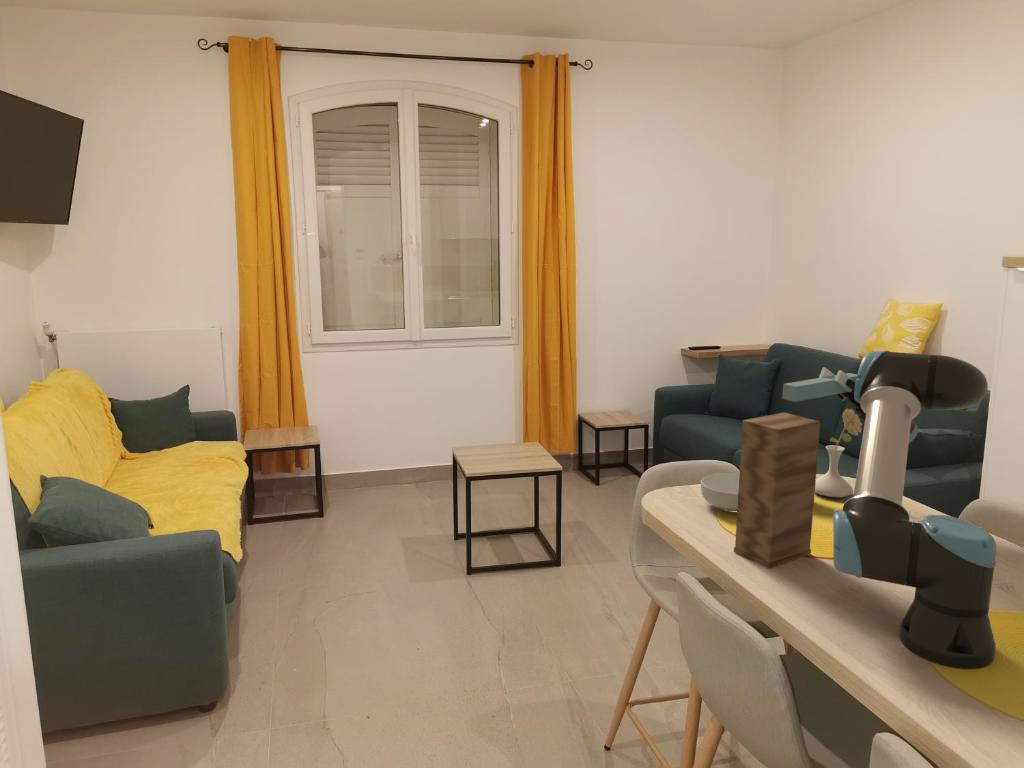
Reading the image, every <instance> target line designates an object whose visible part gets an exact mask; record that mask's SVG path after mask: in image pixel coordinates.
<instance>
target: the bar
mask: <svg viewBox="0 0 1024 768" xmlns="http://www.w3.org/2000/svg"><path fill="white" fill-rule="evenodd" d="M844 373H845V372H844ZM845 374H846V375H848V376H849V377H850V378H851V379H853V380H854V381H855V383H856V379H857V375H858V373H857V374H856V373H850V372H847V373H845ZM836 376H837V374H834V375H833V376H828V377H822V378H819V377H817V378H811V379H805V380H804V379H803V380H799V381H798V380H797V381H794V382H793V381H792V382H787V383H782V384H783V386H782V397H781V398H782V400H785V401H790V402H794V403H796V402H802V401H807V400H813V399H817V398H823V397H828V396H834V394H839V393H845V392H848V391H847V390H846V389H844V388H843V387H842V386H841V385H839V384H838V383H837V382H836V381H834V380H835V378H836ZM852 391H853V390H852Z"/></svg>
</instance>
